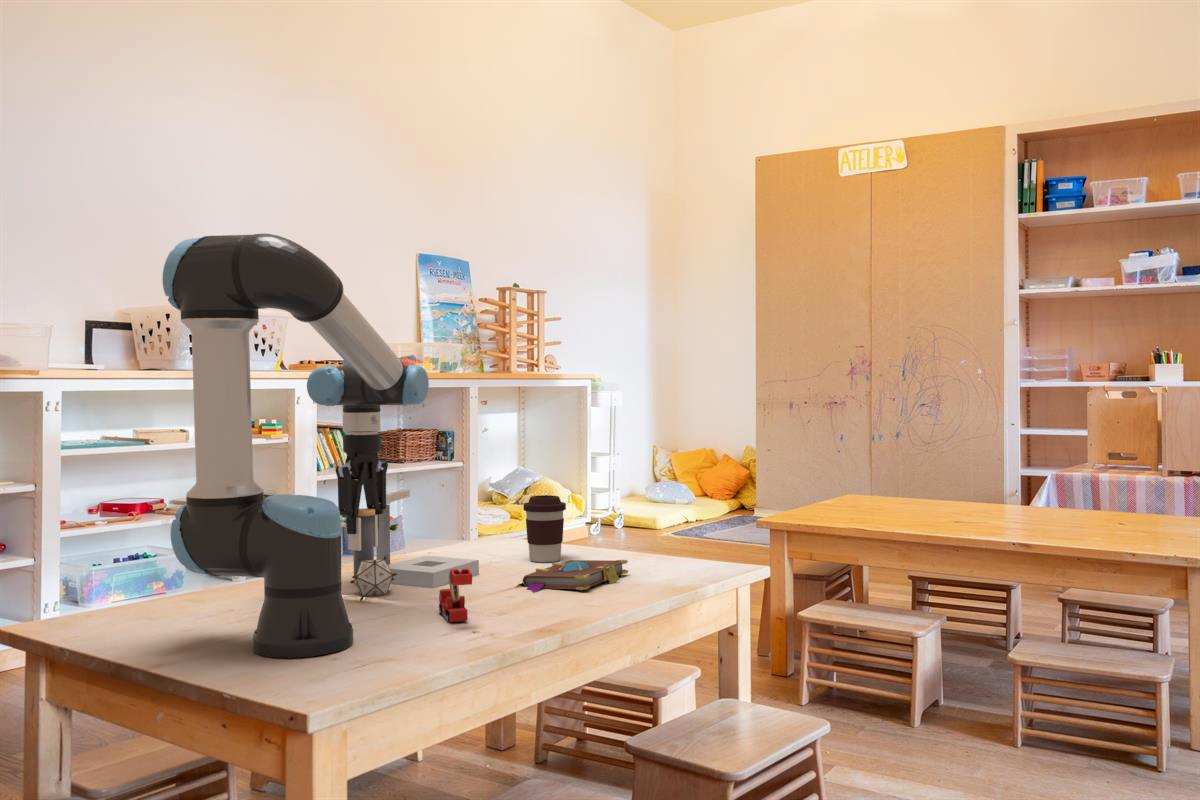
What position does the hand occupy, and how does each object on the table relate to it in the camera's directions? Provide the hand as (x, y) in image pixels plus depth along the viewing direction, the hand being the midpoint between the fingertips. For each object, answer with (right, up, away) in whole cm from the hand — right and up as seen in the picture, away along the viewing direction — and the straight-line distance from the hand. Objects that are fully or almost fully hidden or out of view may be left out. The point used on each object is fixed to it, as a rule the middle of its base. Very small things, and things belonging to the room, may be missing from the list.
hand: (363, 547), depth 201 cm
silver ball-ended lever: (+3, +8, +16) cm, 18 cm away
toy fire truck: (+23, -9, -28) cm, 37 cm away
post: (+2, -8, +10) cm, 13 cm away
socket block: (+13, -8, +5) cm, 16 cm away
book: (+43, -9, +4) cm, 44 cm away
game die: (+4, -8, -10) cm, 14 cm away
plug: (0, -6, 0) cm, 6 cm away
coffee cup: (+35, -8, +31) cm, 48 cm away
